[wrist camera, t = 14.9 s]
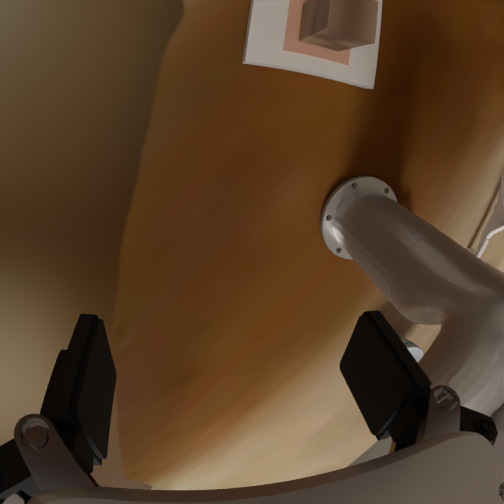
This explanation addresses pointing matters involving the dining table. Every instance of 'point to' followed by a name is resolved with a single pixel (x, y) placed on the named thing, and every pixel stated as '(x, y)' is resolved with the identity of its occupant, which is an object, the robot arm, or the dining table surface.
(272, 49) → the pocket board
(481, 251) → the llama figurine
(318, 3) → the walnut block
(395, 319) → the dining table surface
